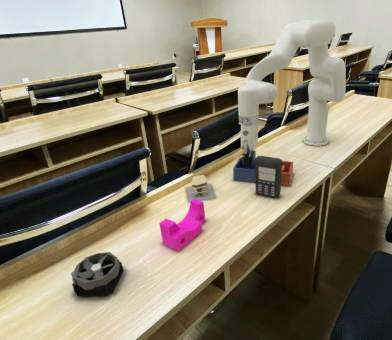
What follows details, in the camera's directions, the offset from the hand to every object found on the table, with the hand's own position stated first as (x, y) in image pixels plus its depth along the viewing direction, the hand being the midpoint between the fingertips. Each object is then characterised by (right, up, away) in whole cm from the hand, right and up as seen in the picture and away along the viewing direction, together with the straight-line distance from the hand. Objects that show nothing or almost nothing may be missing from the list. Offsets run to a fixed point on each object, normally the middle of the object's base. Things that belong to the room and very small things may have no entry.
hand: (249, 162), depth 124 cm
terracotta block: (+12, -6, 0) cm, 13 cm away
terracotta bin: (+12, -7, 0) cm, 14 cm away
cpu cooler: (-38, -32, -46) cm, 68 cm away
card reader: (+7, -13, -10) cm, 18 cm away
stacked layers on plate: (-18, -12, -8) cm, 24 cm away
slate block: (0, 0, 0) cm, 0 cm away
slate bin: (0, -6, +3) cm, 6 cm away
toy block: (-19, -23, -29) cm, 42 cm away
